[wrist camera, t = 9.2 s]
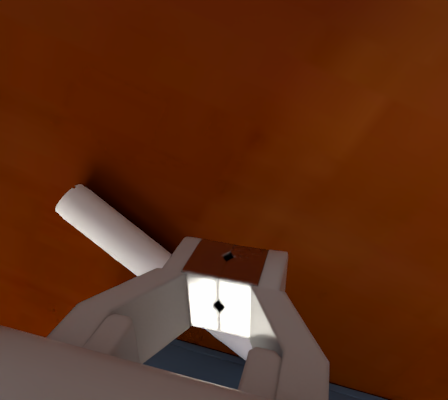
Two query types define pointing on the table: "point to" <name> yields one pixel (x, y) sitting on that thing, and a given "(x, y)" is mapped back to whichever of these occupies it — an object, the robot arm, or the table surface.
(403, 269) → the table surface
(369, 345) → the table surface
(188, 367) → the blue box
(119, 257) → the marker
